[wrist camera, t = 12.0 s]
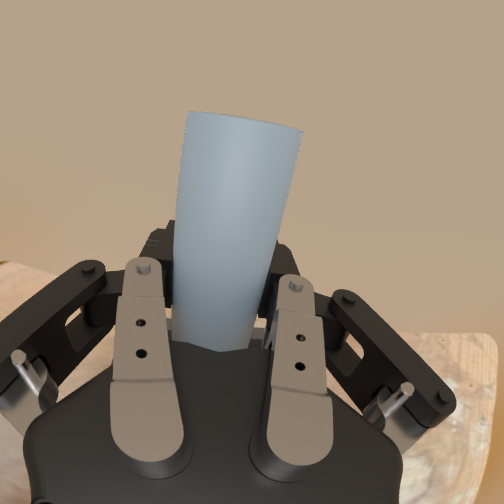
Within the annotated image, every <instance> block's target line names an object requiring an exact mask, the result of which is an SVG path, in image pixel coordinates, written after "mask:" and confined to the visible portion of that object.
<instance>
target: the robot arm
mask: <svg viewBox="0 0 504 504" xmlns="http://www.w3.org/2000/svg"><path fill="white" fill-rule="evenodd" d="M174 228H175V220H170V221H169V223H168V225H167V227H166V229H159V228H158V229H156V230H155V231H153V232H152V233H151V234H150V236H149V238H148V240H147V241H146V244H145V246H144V247H143V249H142V252H141V253H140V255H139V257H137V258H134V259H132V260H130V261H129V262H128V263H127V264H126V267H125V270H120V271H109V272H106V270H105V265H104V264H103V263H102V262H100V261H97V260H85V261H81V262H79V263H77V264H76V265H74V266H73V267H72V268H70V269H69V270H67V271H66V272H65V273H63V274H62V275H60V276H59V277H57V278H56V279H55V280H53V281H52V282H51V283H49V284H48V285H47V286H45V287H44V288H43V289H41V290H40V291H39V292H37V293H36V294H35V295H33V296H32V297H31V298H29V299H28V300H27V301H26V302H24V303H23V304H22V305H21V306H19V307H18V308H17V309H16V310H14V311H13V312H12V313H11V314H10V315H8V316H7V317H6V318H5V319H4V320H2V321H1V322H0V413H1V414H2V415H3V416H4V417H5V418H6V419H7V420H8V421H9V422H10V423H11V424H12V425H13V426H14V427H15V429H16V430H17V431H18V432H19V433H20V434H21V435H22V436H23V437H24V440H23V455H24V460H25V464H26V467H27V471H28V476H29V481H30V488H31V504H399V490H400V483H401V478H402V472H403V461H402V455H403V454H404V453H405V452H406V451H407V450H408V449H409V448H410V447H411V446H412V445H413V444H414V443H415V442H416V441H418V440H419V439H420V438H422V437H423V436H424V435H426V434H427V433H428V432H430V431H431V430H432V429H433V428H435V427H436V426H437V425H438V424H440V423H441V422H442V421H443V420H445V419H446V418H447V417H448V416H449V415H450V414H452V413H453V412H454V410H455V408H456V398H455V395H454V393H453V392H452V390H451V389H450V388H449V387H448V386H447V385H446V384H445V383H444V381H443V380H442V379H441V378H440V377H439V376H438V375H437V374H436V373H435V372H434V371H433V370H432V369H431V368H430V367H429V366H428V364H427V363H426V362H425V361H424V360H423V359H422V358H421V357H420V356H419V355H418V354H417V353H416V352H415V351H414V350H413V349H412V348H411V347H410V346H409V345H408V344H407V343H406V342H405V341H404V340H403V339H402V338H401V337H400V336H399V335H398V334H397V333H396V332H395V331H394V330H393V329H392V328H391V327H390V326H389V325H388V324H387V323H386V322H385V321H384V320H383V319H382V318H381V317H380V316H379V315H378V314H377V313H376V312H375V311H374V310H373V309H372V308H371V307H370V306H369V305H368V304H367V303H366V302H365V301H363V299H361V298H360V297H359V296H358V295H357V294H355V293H353V292H351V291H349V290H344V289H339V290H336V291H335V292H334V293H333V295H332V297H328V296H324V295H321V294H318V293H316V292H314V289H313V285H312V284H311V282H310V281H308V280H307V279H305V278H304V277H301V276H300V273H299V271H298V268H297V266H296V263H295V260H294V258H293V255H292V253H291V251H290V249H289V248H287V247H286V246H285V245H283V244H279V243H278V240H277V241H276V245H275V249H274V252H273V256H272V260H271V264H270V268H269V271H268V275H267V279H266V283H265V287H264V290H263V294H262V298H261V301H260V305H259V309H258V318H266V320H267V323H266V326H265V329H264V334H263V341H262V347H261V349H260V348H247V349H239V350H232V351H224V352H218V351H214V350H210V349H207V348H204V347H201V346H197V345H194V344H191V343H188V342H181V341H173V340H168V332H167V323H166V312H165V308H171V305H172V279H173V245H174ZM78 308H80V310H81V313H80V314H79V315H78V316H76V317H75V318H74V319H73V320H72V321H71V322H70V323H69V324H68V325H67V326H65V323H66V321H67V319H68V317H69V316H70V315H72V314H73V313H74V312H75V311H76V310H77V309H78ZM114 325H115V338H114V357H113V364H112V365H111V366H110V367H108V368H107V369H105V370H104V371H102V372H101V373H100V374H98V375H97V376H95V377H94V378H92V379H91V380H90V381H88V382H87V383H85V384H84V385H82V386H81V387H79V388H78V389H77V390H75V391H74V392H72V393H71V394H69V395H68V396H66V397H65V398H63V399H62V400H61V401H59V402H58V403H56V401H57V398H58V387H59V386H60V384H61V383H62V382H63V381H64V380H65V379H66V378H67V377H68V376H69V374H70V373H71V372H72V371H73V370H74V369H75V368H76V367H77V366H78V365H79V363H80V362H81V361H82V360H83V359H84V358H85V357H86V356H87V355H88V354H89V353H90V352H91V350H92V349H93V348H94V347H95V346H96V345H97V344H98V343H99V342H100V341H101V340H102V339H103V338H104V337H105V336H106V335H107V334H108V333H109V332H110V330H111V329H112V328H113V326H114ZM349 334H351V335H352V336H353V337H354V338H355V339H356V340H357V341H358V343H359V344H360V345H361V346H362V348H363V350H364V356H363V359H361V358H360V357H359V356H358V355H357V354H356V352H355V351H354V350H353V349H352V348H351V347H350V346H349V344H348V343H347V342H346V339H347V338H348V336H349ZM326 367H327V369H328V370H329V371H330V373H331V374H332V375H333V376H334V378H335V379H336V380H337V382H338V383H339V384H340V385H341V387H342V388H343V389H344V391H345V392H346V393H347V394H348V396H349V397H350V398H351V399H352V401H353V402H354V403H355V405H356V406H357V407H358V408H359V410H360V411H361V412H362V413H363V416H362V415H360V414H359V413H358V412H357V411H355V410H354V409H353V408H352V407H350V406H349V405H348V404H347V403H346V402H344V401H343V400H342V399H341V398H340V397H338V396H337V395H336V394H335V393H334V392H332V391H331V390H330V389H329V388H328V387H327V385H326Z"/></svg>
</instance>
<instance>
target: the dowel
mask: <svg viewBox="0 0 504 504" xmlns="http://www.w3.org/2000/svg"><path fill="white" fill-rule="evenodd" d="M302 134H303V131H302V130H299V129H295V128H292V127H288V126H284V125H279V124H275V123H271V122H266V121H261V120H256V119H251V118H244V117H239V116H231V115H224V114H216V113H206V112H187V120H186V125H185V132H184V139H183V147H182V155H181V163H180V172H179V182H178V191H177V202H176V214H175V228H174V245H173V279H172V340H173V341H181V342H188V343H191V344H194V345H197V346H201V347H204V348H207V349H210V350H214V351H218V352H224V351H232V350H239V349H247V348H248V345H249V341H250V338H251V334H252V331H253V327H254V323H255V320H256V316H257V312H258V309H259V305H260V301H261V298H262V294H263V290H264V287H265V283H266V279H267V275H268V271H269V268H270V264H271V260H272V256H273V252H274V249H275V245H276V241H277V237H278V233H279V229H280V225H281V221H282V217H283V213H284V209H285V205H286V201H287V197H288V193H289V189H290V184H291V180H292V177H293V172H294V168H295V164H296V160H297V155H298V152H299V147H300V143H301V139H302Z"/></svg>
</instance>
